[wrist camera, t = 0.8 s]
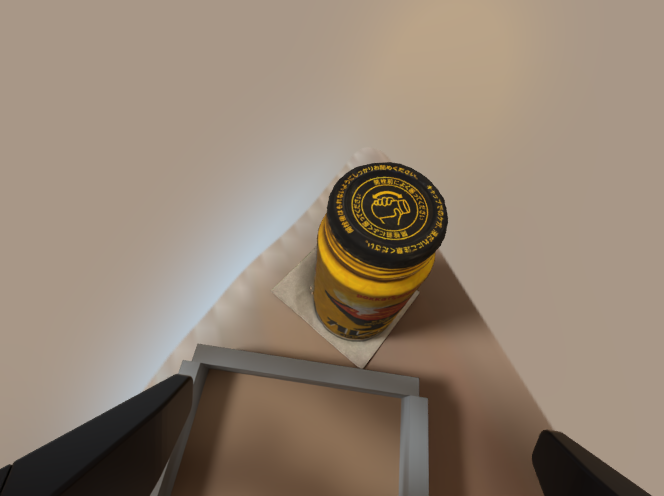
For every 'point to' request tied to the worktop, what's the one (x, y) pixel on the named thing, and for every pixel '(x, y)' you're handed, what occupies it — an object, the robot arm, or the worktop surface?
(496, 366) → the worktop surface
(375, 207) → the condiment
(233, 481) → the grey square frame
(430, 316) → the worktop surface
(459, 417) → the worktop surface
